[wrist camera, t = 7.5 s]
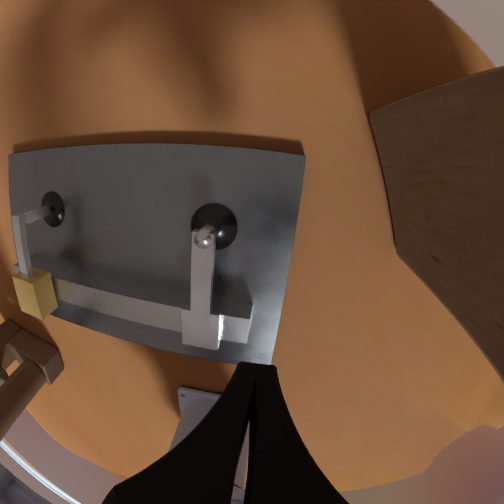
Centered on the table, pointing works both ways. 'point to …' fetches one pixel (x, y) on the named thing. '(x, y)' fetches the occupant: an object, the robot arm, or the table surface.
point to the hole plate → (165, 241)
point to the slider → (32, 271)
